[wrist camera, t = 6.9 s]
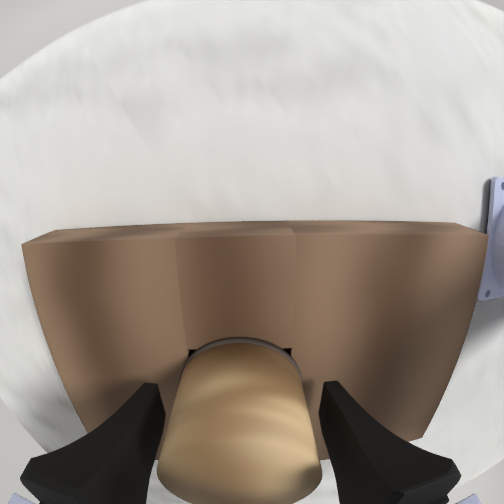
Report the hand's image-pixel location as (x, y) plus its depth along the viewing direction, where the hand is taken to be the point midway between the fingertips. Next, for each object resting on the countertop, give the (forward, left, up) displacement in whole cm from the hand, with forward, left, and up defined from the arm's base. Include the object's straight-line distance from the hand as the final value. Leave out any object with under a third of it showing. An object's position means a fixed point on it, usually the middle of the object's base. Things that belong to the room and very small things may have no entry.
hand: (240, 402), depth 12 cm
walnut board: (-1, 0, -4) cm, 4 cm away
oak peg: (0, 0, -4) cm, 4 cm away
